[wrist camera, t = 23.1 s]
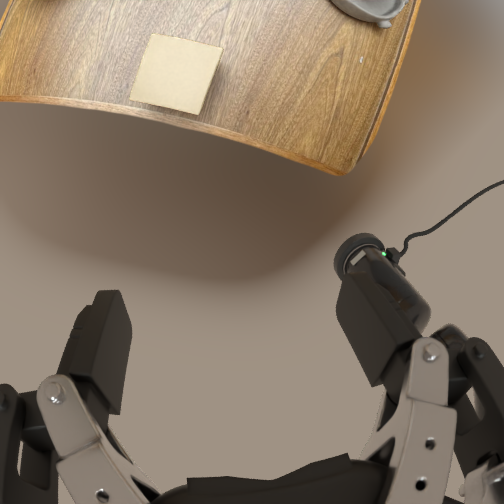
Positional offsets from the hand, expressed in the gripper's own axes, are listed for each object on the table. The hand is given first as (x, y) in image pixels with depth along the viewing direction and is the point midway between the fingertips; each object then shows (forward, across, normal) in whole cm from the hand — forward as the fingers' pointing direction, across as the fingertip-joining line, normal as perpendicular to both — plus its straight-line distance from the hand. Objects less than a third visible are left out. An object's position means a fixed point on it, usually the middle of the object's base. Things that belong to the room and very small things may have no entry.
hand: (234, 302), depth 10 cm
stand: (+34, +4, -10) cm, 36 cm away
